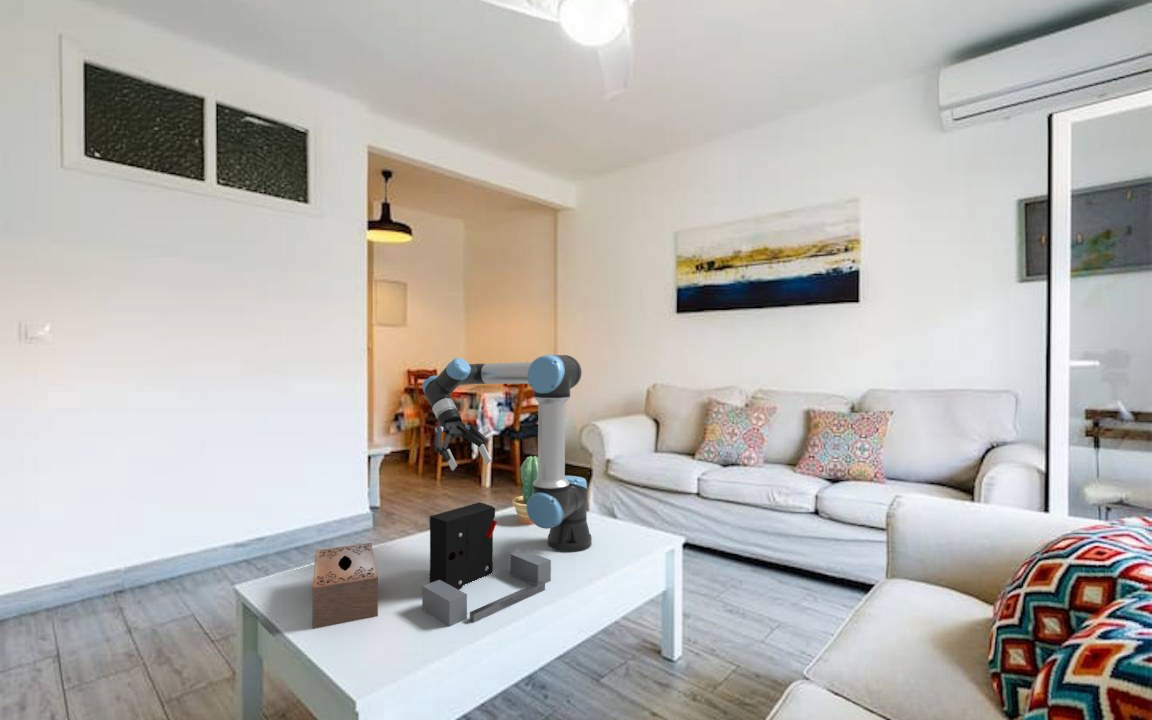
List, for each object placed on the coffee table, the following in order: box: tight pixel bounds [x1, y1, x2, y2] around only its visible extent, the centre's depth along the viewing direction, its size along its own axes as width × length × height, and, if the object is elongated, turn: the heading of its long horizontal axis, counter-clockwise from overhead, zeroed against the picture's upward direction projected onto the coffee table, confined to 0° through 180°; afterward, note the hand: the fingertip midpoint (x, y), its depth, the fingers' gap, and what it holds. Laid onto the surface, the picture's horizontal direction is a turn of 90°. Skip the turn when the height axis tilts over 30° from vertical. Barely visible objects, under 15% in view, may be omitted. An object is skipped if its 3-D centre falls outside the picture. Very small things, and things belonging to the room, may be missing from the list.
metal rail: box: [469, 581, 546, 623], centre depth 135 cm, size 24×2×2 cm, turn 138°
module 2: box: [509, 548, 552, 585], centre depth 151 cm, size 5×12×6 cm, turn 48°
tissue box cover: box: [311, 542, 379, 630], centre depth 137 cm, size 26×14×10 cm, turn 25°
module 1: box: [421, 580, 468, 627], centre depth 130 cm, size 5×12×6 cm, turn 48°
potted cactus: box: [511, 455, 538, 525], centre depth 203 cm, size 15×15×25 cm
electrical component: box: [428, 502, 498, 590], centre depth 149 cm, size 18×10×20 cm, turn 141°
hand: (472, 464), depth 171 cm, fingers open, 13 cm apart
